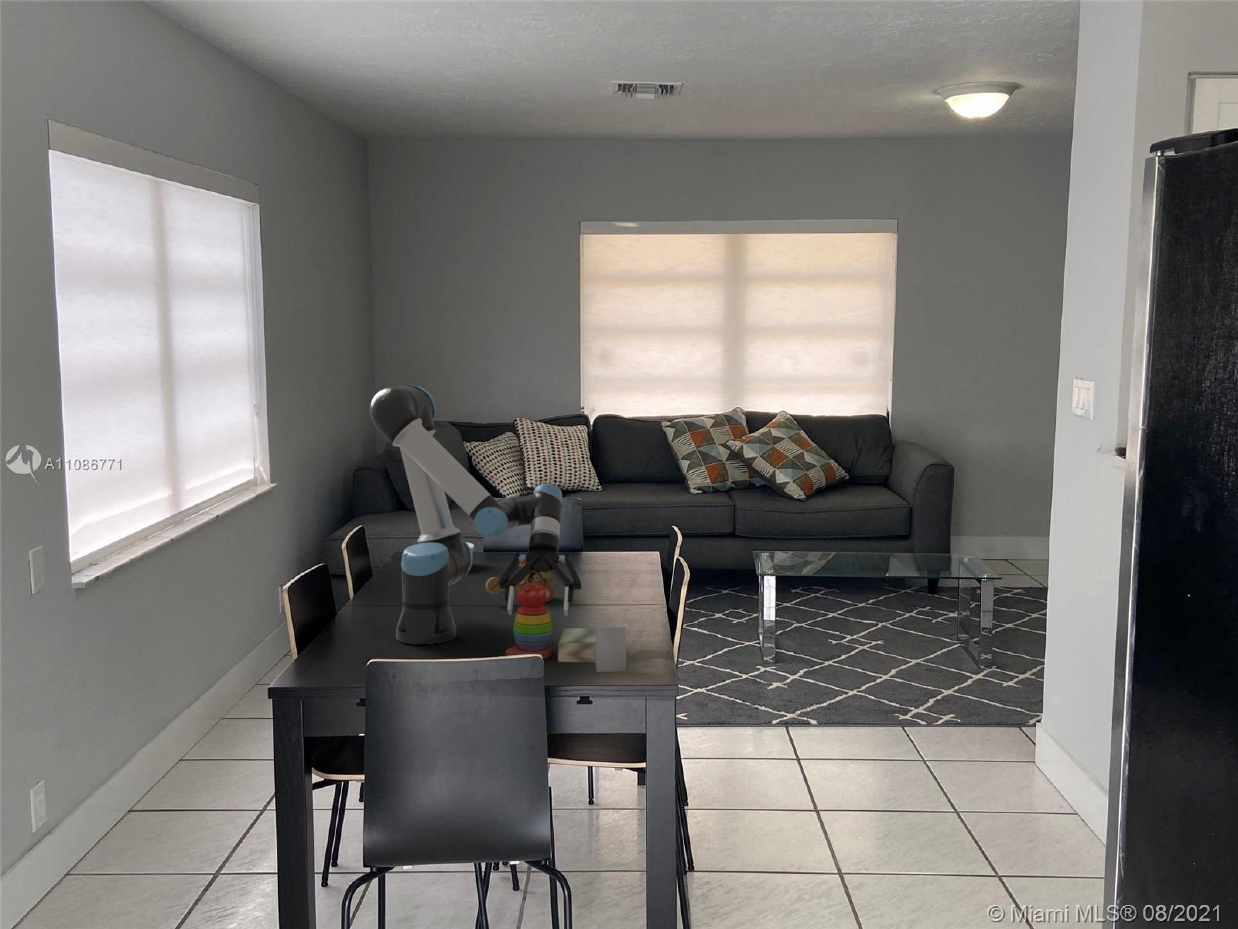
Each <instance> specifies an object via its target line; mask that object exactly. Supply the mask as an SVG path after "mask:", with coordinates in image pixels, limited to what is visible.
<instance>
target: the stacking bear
mask: <svg viewBox="0 0 1238 929" xmlns="http://www.w3.org/2000/svg"><path fill="white" fill-rule="evenodd" d="M516 600H517V602H518V603H519V604H520V606H519V607H517V610H516V611H517V612H516V614H515V618H514V623H513V628H512V630H513V637H514V644H515V645H514V646H511V647H509V648H506V650H505V651H504V655H505V654H542V655H543V656H544V659H543V660H545V659H548V658H549V657H551V656H552V649H551V647H550V644H551V640H552V639H551V638H552V636H553V623H552V618H551V613H550V611H549V610H548V608H547V607H546V606H545V603H546V602H545V601H546V591H545V589H544V587H543V585H542V583H541V582H537V583H528V584H526V585H524V586H523V587H522V588H521V589H520V591H519V592H517V593H516Z"/></svg>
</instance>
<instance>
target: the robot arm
mask: <svg viewBox="0 0 1238 929" xmlns="http://www.w3.org/2000/svg"><path fill="white" fill-rule="evenodd" d="M436 408H437V406H436V403H435V399H434V397H433V396H432V394H431V393H430V392H429V391H428V390H426V389H425V388H423V387H421V386H418V385H413V384H405V385H404V384H403V385H399V386H390V387H385V388H382V389H381V390H379V391H378V392H377V393H376V394H375V395H374V396H373V398H372V400H371V402H370V406H369V415H370V418H371V421H372V423H373V425H374V426H375V428H376V429H377V430H378V432H380V433H381V435H382V436H383V437H384V438H385V439H386V440H387V441H388V442H389V443H390V444H392V446H393V447H399V449H400V454H401V458H402V462H403V465H404V470H405V474H406V478H407V481H408V485H409V490H410V493H411V494H410V495H411V497H412V501H413V506H414V509H415V513H416V514H415V515H416V518H417V522H418V526H419V530H420V535H419V537H418V539H417V544H412V545H410V546H408V547H406V548H405V549H404V551H403V552H402V554H401V555H402V556H401V557H402V558H401V563H400V565H401V581H402V582H401V585H402V588H401V589H402V590H401V591H402V593H401V594H402V610H401V612H400V615H399V620H398V622H397V626H396V629H395V638H396V640H397V641H398V642H400V643H403V644H407V643H408V644H407V645H415V646H418V645H419V646H421V645H422V644H429V645H436V644H435V643H438V644H442V643H443V644H444V643H446V641H447V642H450V641H452V640H454V639H455V638H456V637H457V626H456V624H455V620H454V617H453V614H452V611H451V609H450V594H449V593H450V589H449V588H450V587H451V586H453V585H454V584H457V583H459V582H460V581H462V580H463V579H464V578H465V577H466V576H467V575H468V574H469V572H470V571H471V568H472V566H473V561H474V559H473V553H472V551H471V549H470V547H469V546H468V544H467V543H468V542H467V543H465V542H466V541H464V540H463V537H462V532H461V530H460V529H459V528H457V527H455V525H454V524H453V521H452V517H451V516H452V515H451V512H450V508H449V505H448V500H447V497H446V494H447V496H449V497H450V498H451V499H452V500H453V501H454V502H455V503H456V505H458V506H459V508H461V509H462V510H463V511H464V512H465V513H466V514H467V515H468V516H469V517H470V518H471V520H473V525H474V528H475V530H476V532H477V533H478V535H480V536H482V537H484V538H487V539H491V538H496V537H499V536H501V535H503V534H505V533H506V532H507V531H509V530H512V529H514V528H515V527H521V526H527V525H529V526H530V529H529V539H528V540H529V541H528V549H527V553H526V554H521V553H520V552H518V551H517V552H515V553H514V556H513V560H512V562H511V563H510V564H509V566H508V567H507V569H506V570H505V571H504V572H503V574H502V575H501V577H500V578H499V579H500V580H499V586H500V588H501V589H503V588H504V589H505V590H504V601H505V602H507V609H506V611H507V613H508V615H509V616H511V615H512V613H513V604H514V597H515V595H514V594H515V589H513V588H514V587H515V586H516V585H517V584H518V583H519V582H520V581H522V580H523V579H524V578H525V577H526V576H527V575H528V574H531V573H532V572H533V571H534V572H536V573H538V572H548V571H551V574H553V575H554V576H555V577H556V578H557V579H558V580H559V581H560V582H561V583H562V585H564V587H565V588H564V600H563V616H567V617H568V613H569V612H568V611H569V603H572V602H573V601H574V592H575V591H576V590H578V591H579V590H581V589H582V582H581V579H580V577H579V576H578V574H577V571H576V569H575V567H574V565H573V564H572V561H571V556H570V553H569V552H565V553H564V554H561V555H560V554H559V546H560V545H559V543H560V542H559V541H560V532H561V531H560V530H561V516H562V508H563V492H562V490H561V489H560V488H559V487H558V486H557V485H555V484H552V483H541V484H539V485H537V486H536V487H535V488H534V490H533V494H528V495H524V496H517V497H516V496H515V497H508V498H499V499H495V497H493V495H491V493H489V492H488V490H487V489H485V487H484V486H483V485H481V483H480V482H479V481H478V480H476V478H474V476H473V475H471V474H470V472H468V471H467V469H466V468H465V467H464V466H462V464H461V463H460V462H459V461H457V459H456V458H455V457H454V456H453V455H451V453H449V451H448V450H447V449H446V448H445V447H444V446H443V445H442V444H441V443H440V442H439V441H438V440H437V439H436V438H435V437H434V434H435V432H436V428H435V423H434V418H435V415H436V411H437V409H436ZM524 560H526V562H527V563H526V564H525V565H524V567H523V568H520V566H519V564H522V562H523V561H524ZM559 562H561V563H562V564H563V565H565V568H566V570H567V572H568V574H569V576H570V578H569V577H568V576H567V575H566V574H565V573H564V572H563V571H562V570H561V568H560V567H559V566H558V563H559ZM518 568H520V569H519V570H518V571H517V569H518ZM516 571H517V572H516ZM515 572H516V573H515ZM510 578H511V579H510ZM571 580H572V581H571ZM449 640H450V641H449ZM420 644H421V645H420ZM422 646H423V645H422Z"/></svg>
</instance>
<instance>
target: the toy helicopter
mask: <svg viewBox="0 0 1238 929" xmlns="http://www.w3.org/2000/svg"><path fill="white" fill-rule="evenodd" d="M526 563H527V562H526V560H524V561H523V562H522V564H519V568H520V569H522V568H523V567H524V565H525V564H526ZM511 578H512V577H511ZM511 578H510V579H511ZM499 580H500V578H499V577H494V576H493V577H489V578H487V580H486V582H485V590H486V591H487V592H488V593H489V594H491V595H497V594H499V593H501V592H502V591H505V589H504V588H503V589H501V588H500V586H499ZM537 582H541V583H542V585H543V587H544V589H545V591H546V601H545V603H547V602H550V601H551V600H552V599H553V598H554V594H555V591H554V588H553V587H552V586H551V584H552V572H551V571H548V572H535V571H533V572H532V573H531V574H528V575H527V576H526V577H525V578H524V579H523V580H522V581H520V582H519V583H518V584H517V585H516V586H515V587H514V588H513V589H514V590H516V591H517V593H518V592H519V591H520V589H521V588H522V587H523V586H524V585H526V584H528V583H537Z"/></svg>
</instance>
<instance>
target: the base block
mask: <svg viewBox="0 0 1238 929" xmlns="http://www.w3.org/2000/svg"><path fill="white" fill-rule="evenodd" d="M557 662H558V663H595V664H596V628H579V627H578V628H571V627H565V628H564V629H563V631H562V633H561V634H560V638H559V640H558V643H557Z"/></svg>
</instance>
